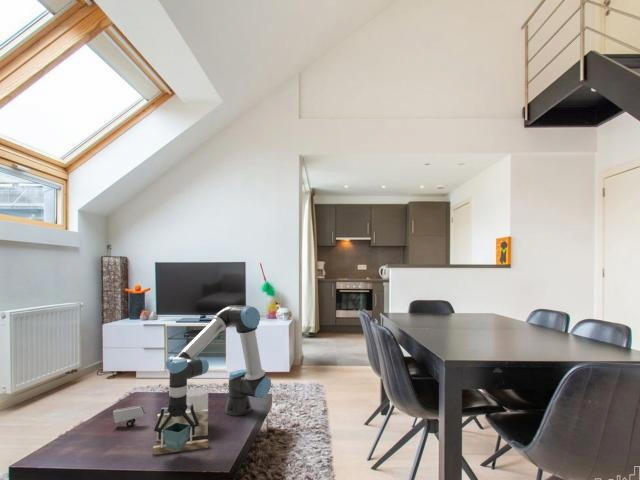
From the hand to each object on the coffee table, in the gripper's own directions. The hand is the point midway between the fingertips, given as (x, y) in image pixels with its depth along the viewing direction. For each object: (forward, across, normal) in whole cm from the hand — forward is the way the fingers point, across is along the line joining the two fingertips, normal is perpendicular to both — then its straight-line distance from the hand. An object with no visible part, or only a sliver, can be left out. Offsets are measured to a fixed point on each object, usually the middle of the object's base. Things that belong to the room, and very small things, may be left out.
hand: (176, 444), depth 170 cm
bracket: (+2, +33, -43) cm, 54 cm away
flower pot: (+2, 0, 0) cm, 2 cm away
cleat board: (+5, -2, -12) cm, 13 cm away
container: (+6, -7, -31) cm, 32 cm away
